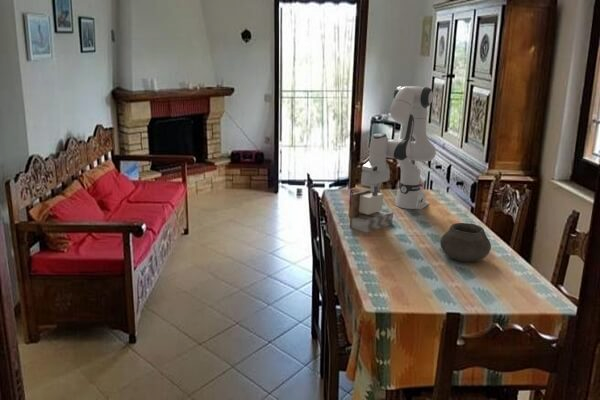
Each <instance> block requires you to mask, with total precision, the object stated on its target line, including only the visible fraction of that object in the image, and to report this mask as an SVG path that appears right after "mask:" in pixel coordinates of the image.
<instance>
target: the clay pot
mask: <svg viewBox="0 0 600 400" xmlns="http://www.w3.org/2000/svg"><path fill="white" fill-rule="evenodd" d="M448 229H449V230H448V231H446V232H445V233H444V234H443V235H442V237H441V238H440V242H439V243H440V244H439V245H440V248H441V250H442V252H443V253H444V254H445V255H446V256H447V257H449V258H452V259H454V260H457V261H460V262H466V263H467V262H475V261H481V260H483V259H485V258H487V256H489V254H490V253H491V249H492V244H491V241H490V239H489V237H488V236H487V234H486V231H485V230H484V227H482V226H480V225H478V224H474V223H472V222H471V223H468V222H457V223H456V222H455V223H453V224H451V225H450V227H449V228H448Z"/></svg>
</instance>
